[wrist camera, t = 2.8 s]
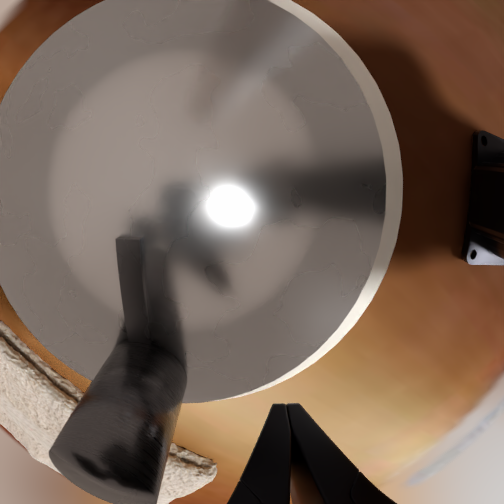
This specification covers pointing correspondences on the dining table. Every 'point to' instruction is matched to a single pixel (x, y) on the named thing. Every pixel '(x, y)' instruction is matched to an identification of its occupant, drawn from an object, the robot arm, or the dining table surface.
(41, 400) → the washcloth
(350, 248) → the dial
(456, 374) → the dining table surface
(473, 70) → the dining table surface
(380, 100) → the dial base
